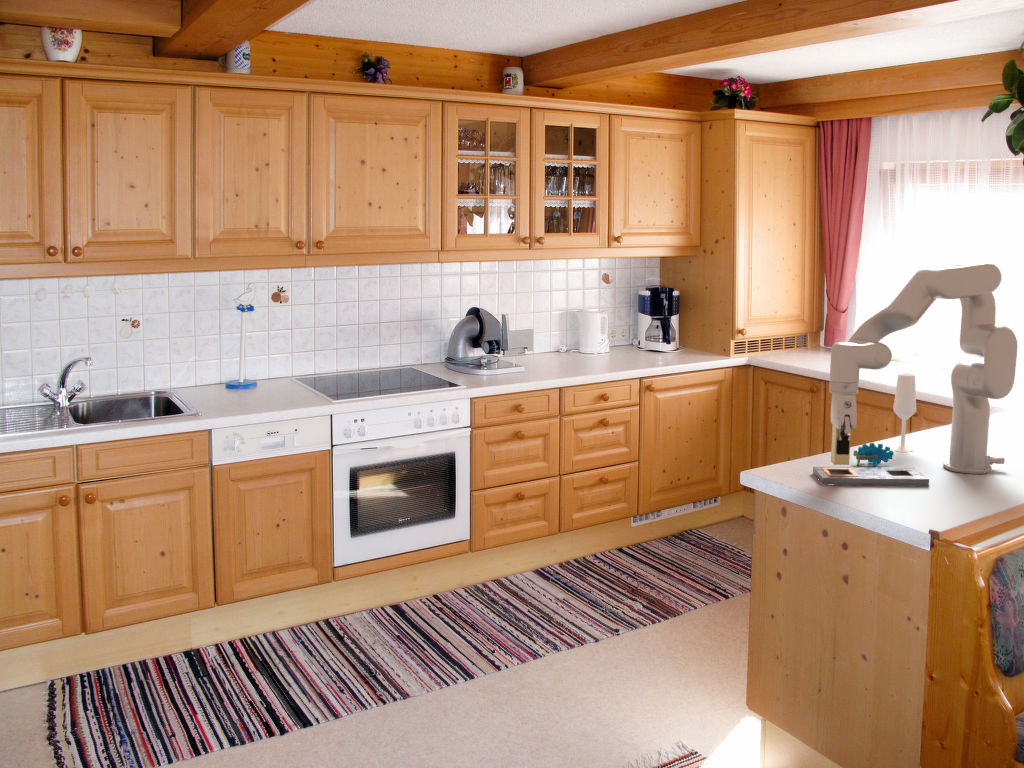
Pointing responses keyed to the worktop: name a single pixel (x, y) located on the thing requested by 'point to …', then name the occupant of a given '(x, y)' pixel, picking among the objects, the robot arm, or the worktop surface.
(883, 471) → the rail plate
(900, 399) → the champagne flute
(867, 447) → the gear
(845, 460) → the peg
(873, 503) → the worktop surface
